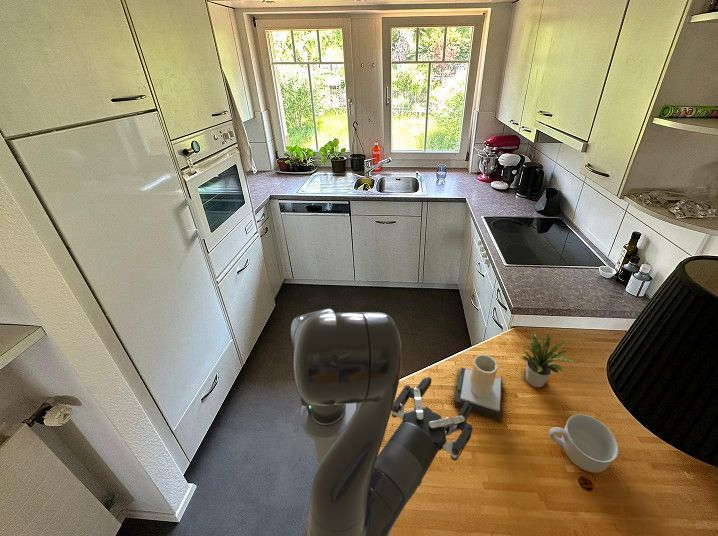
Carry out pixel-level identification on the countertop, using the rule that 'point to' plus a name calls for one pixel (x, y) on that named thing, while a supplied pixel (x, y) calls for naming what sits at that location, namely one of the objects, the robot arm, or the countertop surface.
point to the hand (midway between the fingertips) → (448, 391)
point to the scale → (479, 405)
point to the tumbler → (483, 375)
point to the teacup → (587, 442)
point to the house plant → (542, 361)
